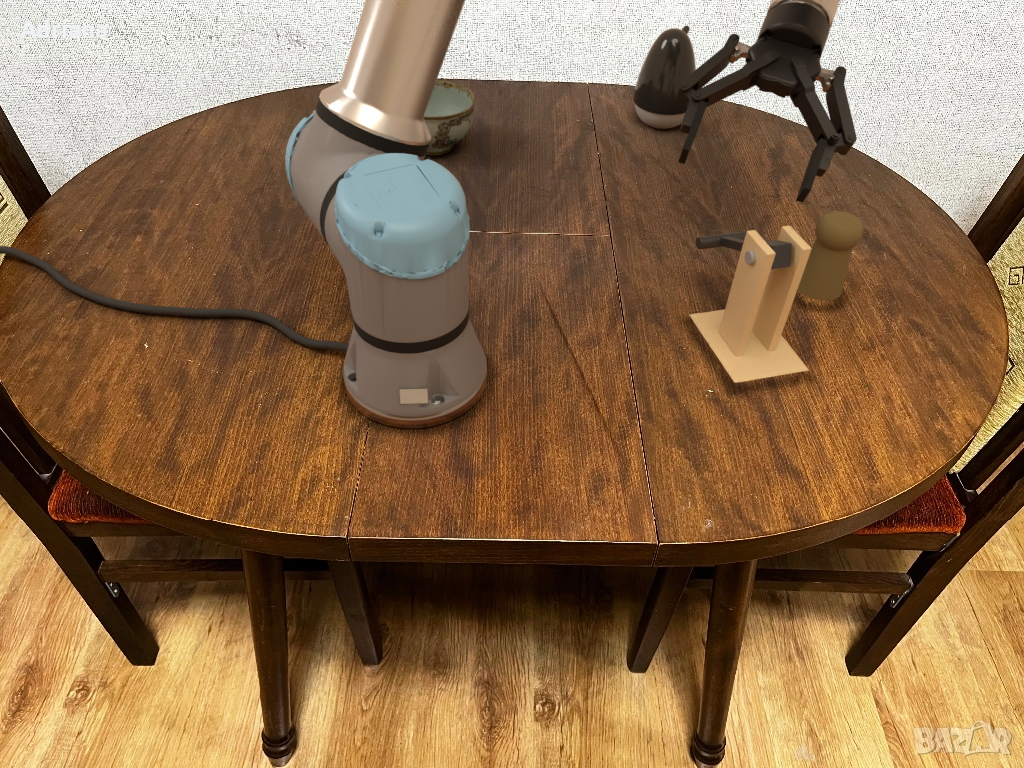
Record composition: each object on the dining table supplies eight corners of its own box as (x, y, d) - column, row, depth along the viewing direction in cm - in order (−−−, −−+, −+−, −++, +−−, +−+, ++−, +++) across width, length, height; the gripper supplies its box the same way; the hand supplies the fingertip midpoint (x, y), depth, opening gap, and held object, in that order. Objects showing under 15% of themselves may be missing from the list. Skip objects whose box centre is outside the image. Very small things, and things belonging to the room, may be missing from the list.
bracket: (686, 322, 91) (712, 213, 81) (755, 312, 93) (789, 204, 83) (732, 390, 83) (767, 279, 72) (806, 378, 85) (850, 267, 74)
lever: (695, 252, 89) (695, 232, 89) (741, 246, 91) (742, 226, 90) (754, 271, 77) (755, 248, 77) (807, 264, 79) (808, 241, 78)
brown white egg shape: (699, 118, 132) (718, 26, 121) (676, 141, 125) (693, 46, 115) (646, 103, 135) (659, 13, 125) (620, 125, 129) (632, 31, 118)
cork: (842, 312, 93) (874, 235, 86) (791, 304, 94) (819, 227, 86) (837, 283, 98) (867, 207, 90) (789, 276, 98) (815, 201, 91)
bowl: (487, 134, 125) (487, 86, 120) (461, 172, 116) (460, 122, 110) (408, 122, 128) (405, 74, 122) (377, 159, 118) (372, 108, 113)
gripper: (888, 77, 91) (841, 228, 86) (688, 17, 94) (631, 159, 89) (919, 32, 84) (869, 194, 79) (701, -32, 87) (639, 120, 82)
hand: (742, 176), depth 84 cm, fingers open, 13 cm apart
